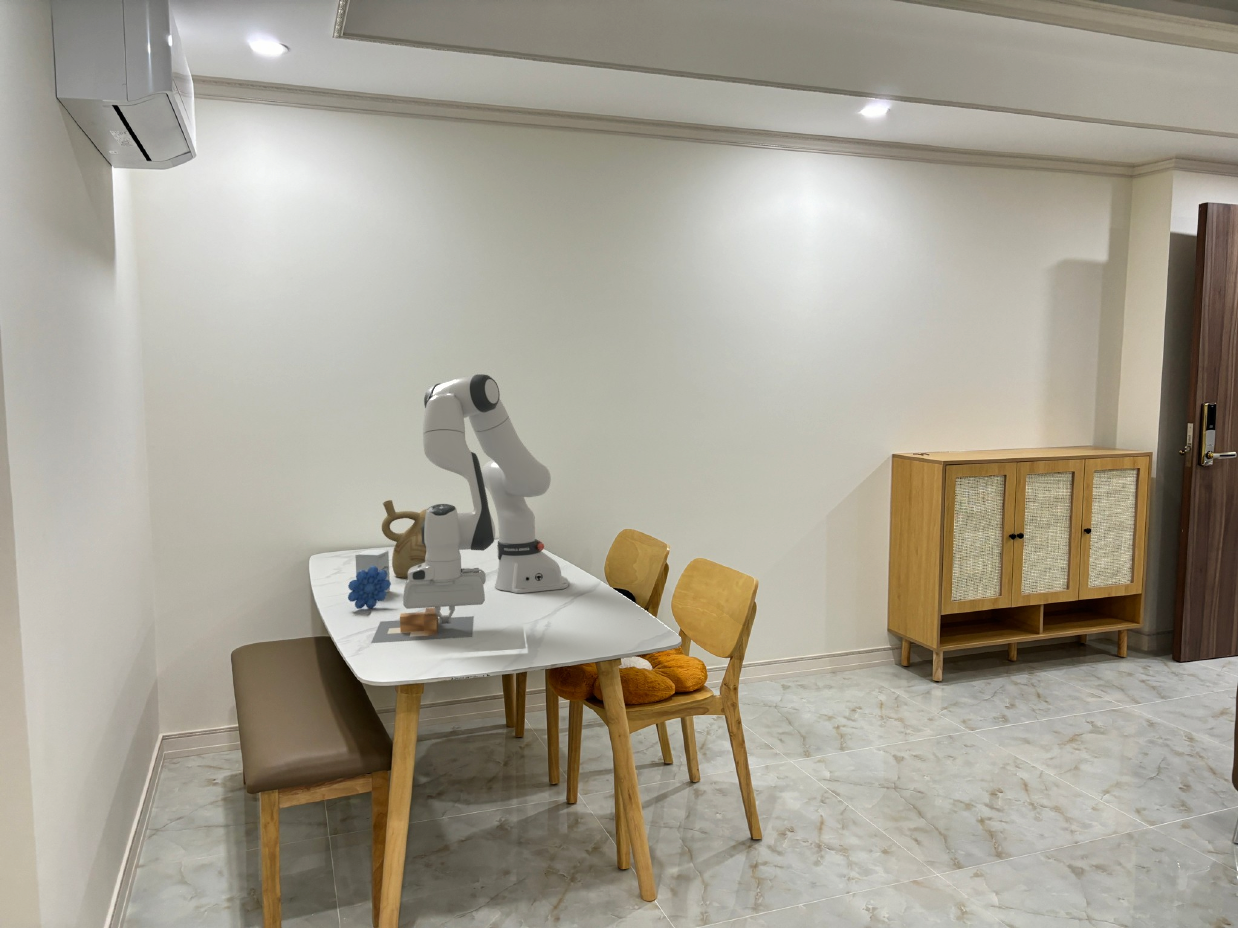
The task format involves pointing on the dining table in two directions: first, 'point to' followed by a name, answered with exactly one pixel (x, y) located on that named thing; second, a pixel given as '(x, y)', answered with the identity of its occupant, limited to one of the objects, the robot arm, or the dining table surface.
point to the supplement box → (373, 561)
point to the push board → (391, 631)
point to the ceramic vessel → (405, 540)
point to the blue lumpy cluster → (368, 587)
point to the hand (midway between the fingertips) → (445, 623)
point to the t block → (420, 622)
